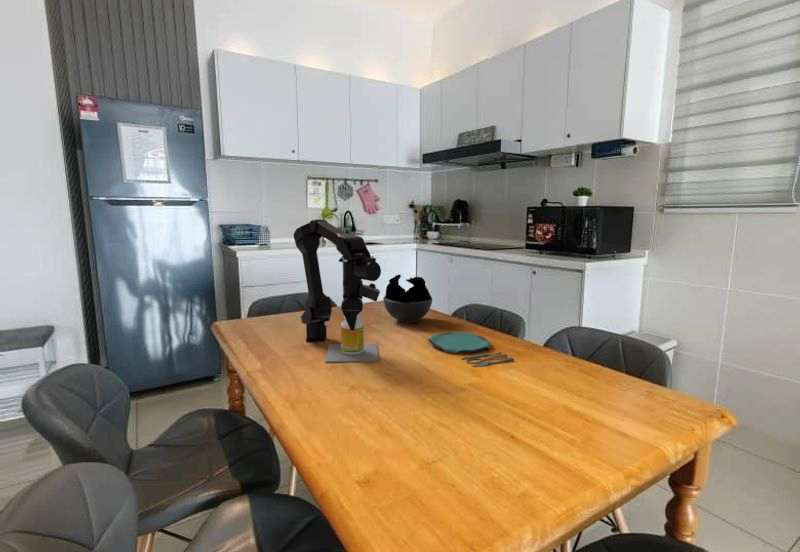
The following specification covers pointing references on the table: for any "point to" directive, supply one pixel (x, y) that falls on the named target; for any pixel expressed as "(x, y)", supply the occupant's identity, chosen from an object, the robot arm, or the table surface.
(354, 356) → the grey mat
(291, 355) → the table surface
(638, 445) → the table surface
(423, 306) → the coal bowl
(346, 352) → the supplement bottle
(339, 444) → the table surface
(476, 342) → the cutlery set
